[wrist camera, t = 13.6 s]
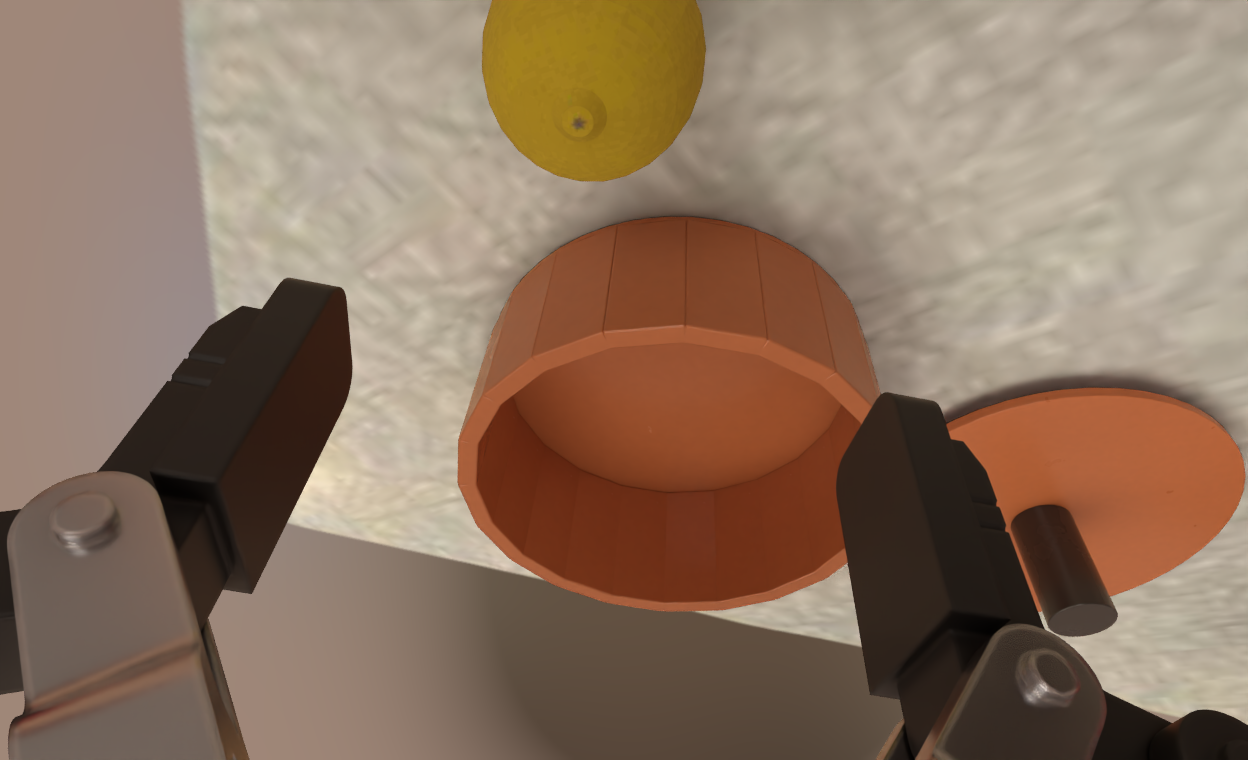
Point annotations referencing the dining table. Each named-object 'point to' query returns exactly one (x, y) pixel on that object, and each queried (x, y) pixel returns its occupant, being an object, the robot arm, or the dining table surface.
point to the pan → (669, 417)
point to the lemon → (593, 80)
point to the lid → (1102, 491)
